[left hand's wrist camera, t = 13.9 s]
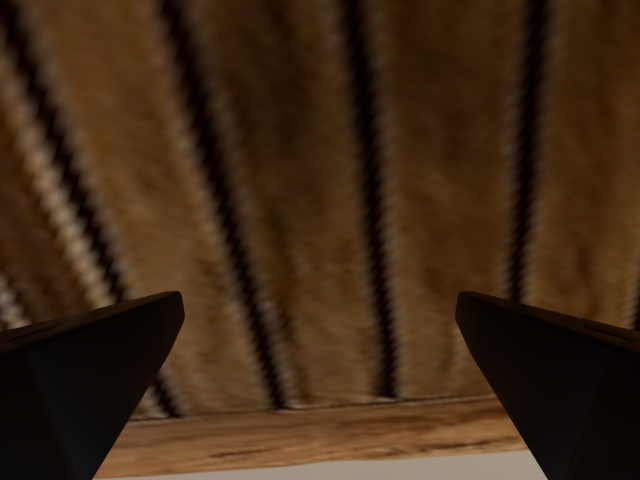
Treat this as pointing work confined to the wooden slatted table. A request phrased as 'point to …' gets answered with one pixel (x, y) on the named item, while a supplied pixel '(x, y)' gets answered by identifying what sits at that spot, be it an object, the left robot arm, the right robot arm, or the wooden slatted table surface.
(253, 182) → the wooden slatted table surface
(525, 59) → the wooden slatted table surface
